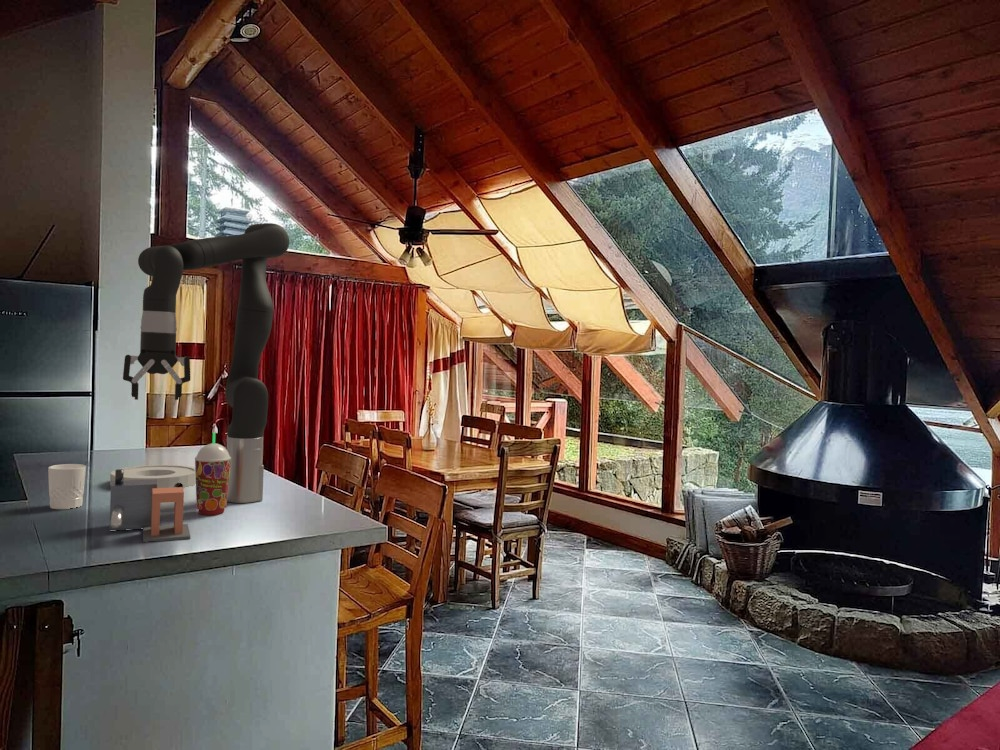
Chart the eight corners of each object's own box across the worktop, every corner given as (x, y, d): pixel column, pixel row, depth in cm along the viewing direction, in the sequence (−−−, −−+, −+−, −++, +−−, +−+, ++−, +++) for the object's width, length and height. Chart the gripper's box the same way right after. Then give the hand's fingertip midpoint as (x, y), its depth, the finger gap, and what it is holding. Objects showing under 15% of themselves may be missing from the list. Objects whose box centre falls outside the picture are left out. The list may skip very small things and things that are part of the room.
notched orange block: (181, 527, 154) (182, 487, 153) (182, 533, 148) (183, 492, 148) (151, 529, 151) (152, 488, 151) (151, 535, 145) (152, 493, 145)
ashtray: (98, 492, 188) (98, 478, 188) (123, 477, 211) (124, 464, 211) (189, 492, 194) (189, 478, 193) (204, 477, 216) (205, 465, 216)
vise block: (110, 525, 155) (112, 467, 154) (155, 522, 159) (157, 466, 158) (106, 545, 139) (108, 482, 139) (156, 542, 143) (158, 480, 143)
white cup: (91, 505, 172) (93, 466, 171) (60, 511, 165) (61, 470, 164) (71, 501, 175) (72, 462, 175) (39, 507, 168) (40, 466, 168)
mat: (187, 526, 156) (187, 523, 156) (190, 538, 147) (190, 536, 147) (143, 529, 152) (143, 526, 152) (142, 542, 143) (142, 539, 143)
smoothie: (194, 517, 165) (196, 434, 164) (191, 510, 172) (194, 430, 172) (231, 515, 169) (234, 434, 168) (227, 508, 176) (230, 430, 175)
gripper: (190, 333, 169) (188, 398, 169) (124, 329, 162) (122, 398, 163) (192, 332, 162) (190, 401, 163) (123, 329, 156) (121, 400, 156)
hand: (156, 399), depth 163 cm, fingers open, 8 cm apart
